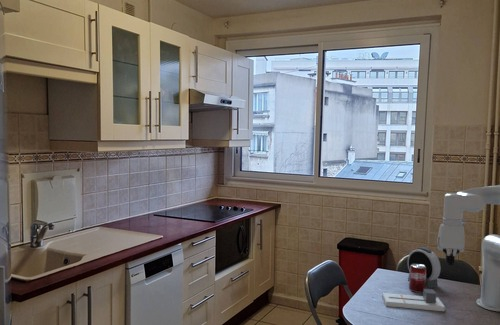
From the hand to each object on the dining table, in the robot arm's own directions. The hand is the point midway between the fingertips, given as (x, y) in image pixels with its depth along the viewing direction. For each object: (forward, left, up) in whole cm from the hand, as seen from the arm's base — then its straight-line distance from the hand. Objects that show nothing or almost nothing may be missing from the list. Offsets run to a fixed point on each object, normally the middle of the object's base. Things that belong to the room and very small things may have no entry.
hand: (449, 264), depth 179 cm
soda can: (+8, -18, -19) cm, 28 cm away
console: (+14, 0, -19) cm, 24 cm away
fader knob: (+7, 0, -17) cm, 18 cm away
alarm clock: (+3, -29, -19) cm, 35 cm away
